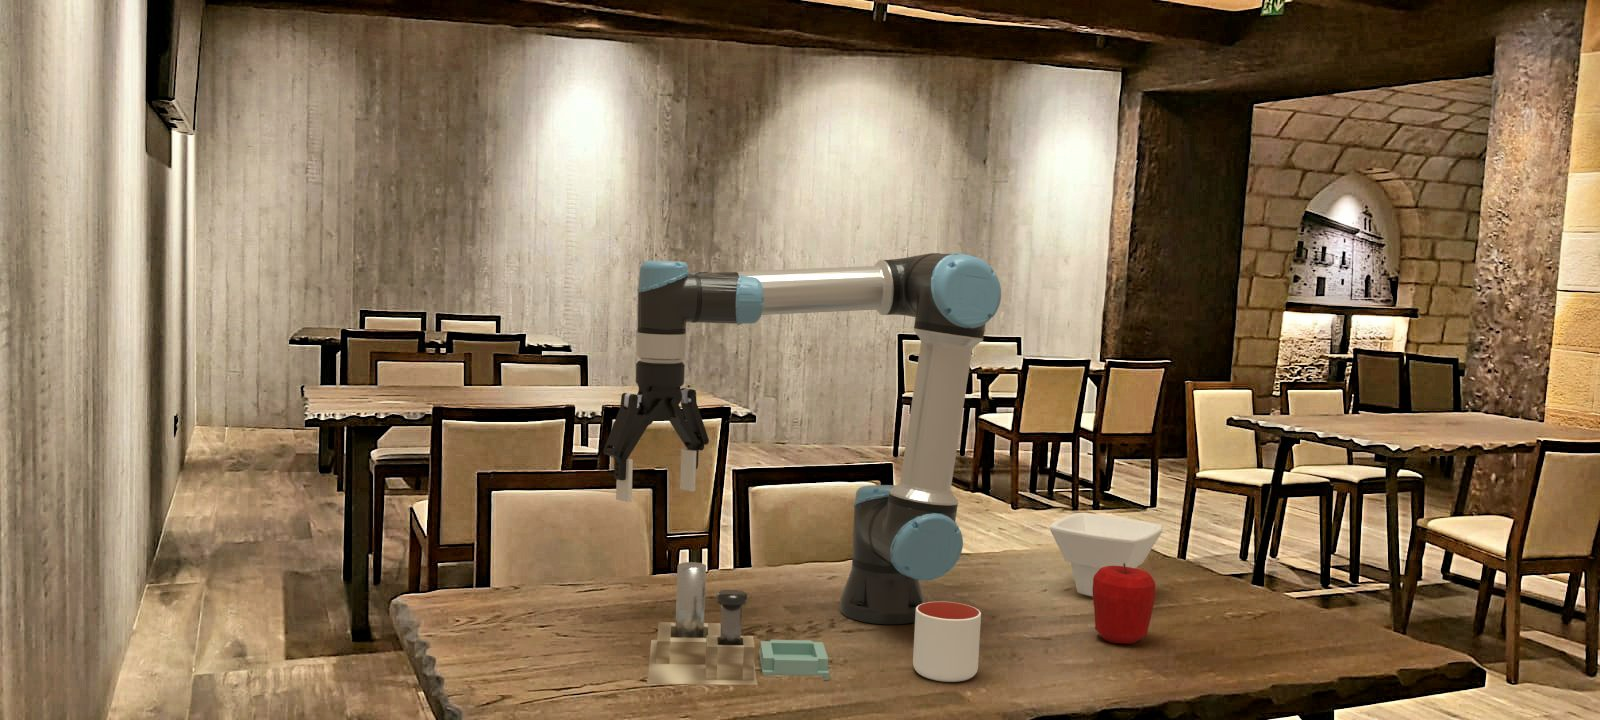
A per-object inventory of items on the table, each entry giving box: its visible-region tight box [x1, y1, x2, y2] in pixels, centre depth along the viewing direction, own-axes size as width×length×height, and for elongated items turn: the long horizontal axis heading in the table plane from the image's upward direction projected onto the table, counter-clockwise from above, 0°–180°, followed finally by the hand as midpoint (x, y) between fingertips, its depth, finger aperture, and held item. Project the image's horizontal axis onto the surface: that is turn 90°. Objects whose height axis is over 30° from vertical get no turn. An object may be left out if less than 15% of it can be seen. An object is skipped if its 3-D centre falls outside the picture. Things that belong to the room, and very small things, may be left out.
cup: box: [912, 601, 982, 683], centre depth 198 cm, size 10×10×10 cm
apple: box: [1092, 563, 1156, 644], centre depth 218 cm, size 10×10×14 cm
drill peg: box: [675, 561, 707, 638], centre depth 199 cm, size 4×4×14 cm
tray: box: [758, 639, 830, 681], centre depth 197 cm, size 10×10×3 cm
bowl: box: [1049, 512, 1164, 597], centre depth 247 cm, size 19×19×14 cm
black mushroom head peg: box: [716, 589, 748, 645], centre depth 190 cm, size 4×4×9 cm
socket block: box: [646, 621, 758, 686], centre depth 196 cm, size 16×20×6 cm
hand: (656, 495), depth 201 cm, fingers open, 13 cm apart
